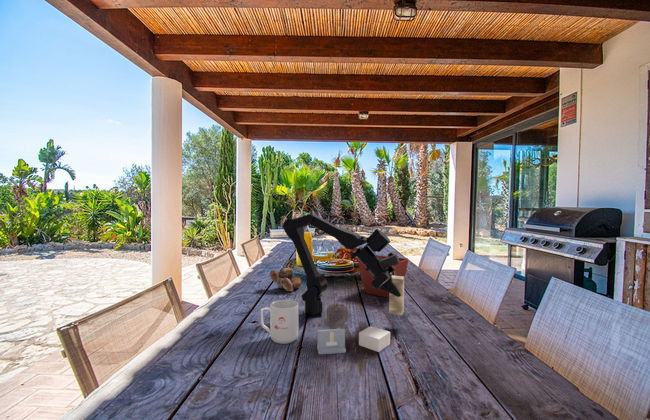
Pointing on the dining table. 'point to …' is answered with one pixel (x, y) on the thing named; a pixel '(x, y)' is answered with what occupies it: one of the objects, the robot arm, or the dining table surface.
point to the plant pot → (368, 277)
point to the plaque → (331, 341)
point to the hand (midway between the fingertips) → (400, 294)
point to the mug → (282, 321)
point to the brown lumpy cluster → (285, 279)
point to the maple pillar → (397, 302)
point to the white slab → (374, 338)
